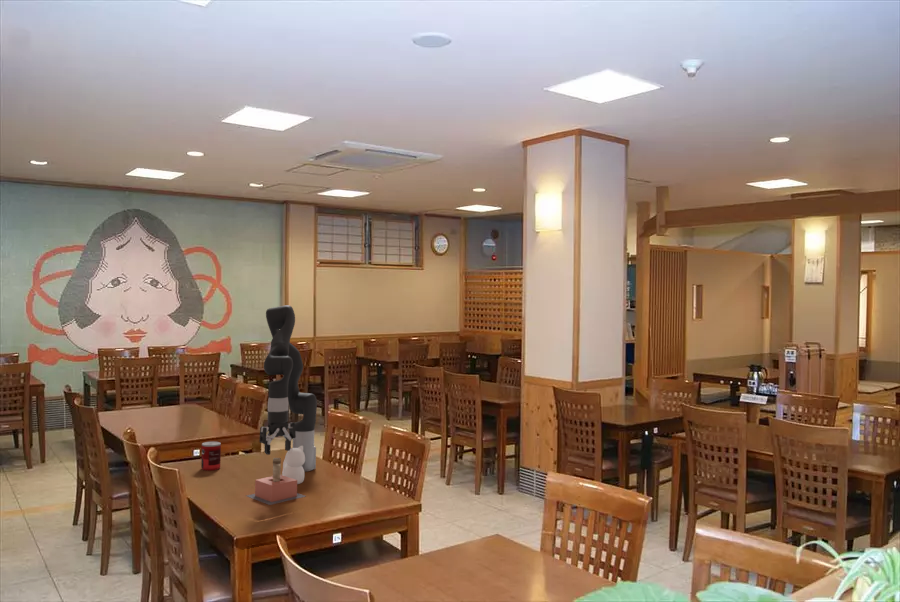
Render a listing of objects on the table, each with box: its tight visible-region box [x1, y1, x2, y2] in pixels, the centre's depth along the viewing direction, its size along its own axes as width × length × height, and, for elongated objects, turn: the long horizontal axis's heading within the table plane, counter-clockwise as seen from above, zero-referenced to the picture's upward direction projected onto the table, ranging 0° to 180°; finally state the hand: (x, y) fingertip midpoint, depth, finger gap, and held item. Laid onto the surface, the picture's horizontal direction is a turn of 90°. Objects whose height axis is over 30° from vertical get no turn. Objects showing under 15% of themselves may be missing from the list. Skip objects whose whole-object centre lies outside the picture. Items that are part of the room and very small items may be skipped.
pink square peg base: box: [254, 474, 298, 502], centre depth 261 cm, size 11×11×6 cm
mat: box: [246, 492, 307, 506], centre depth 261 cm, size 16×16×1 cm
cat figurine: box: [281, 446, 305, 485], centre depth 281 cm, size 9×12×15 cm
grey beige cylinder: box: [272, 457, 282, 482], centre depth 261 cm, size 3×3×14 cm
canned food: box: [200, 441, 222, 472], centre depth 302 cm, size 8×8×11 cm
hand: (277, 452), depth 261 cm, fingers open, 8 cm apart
